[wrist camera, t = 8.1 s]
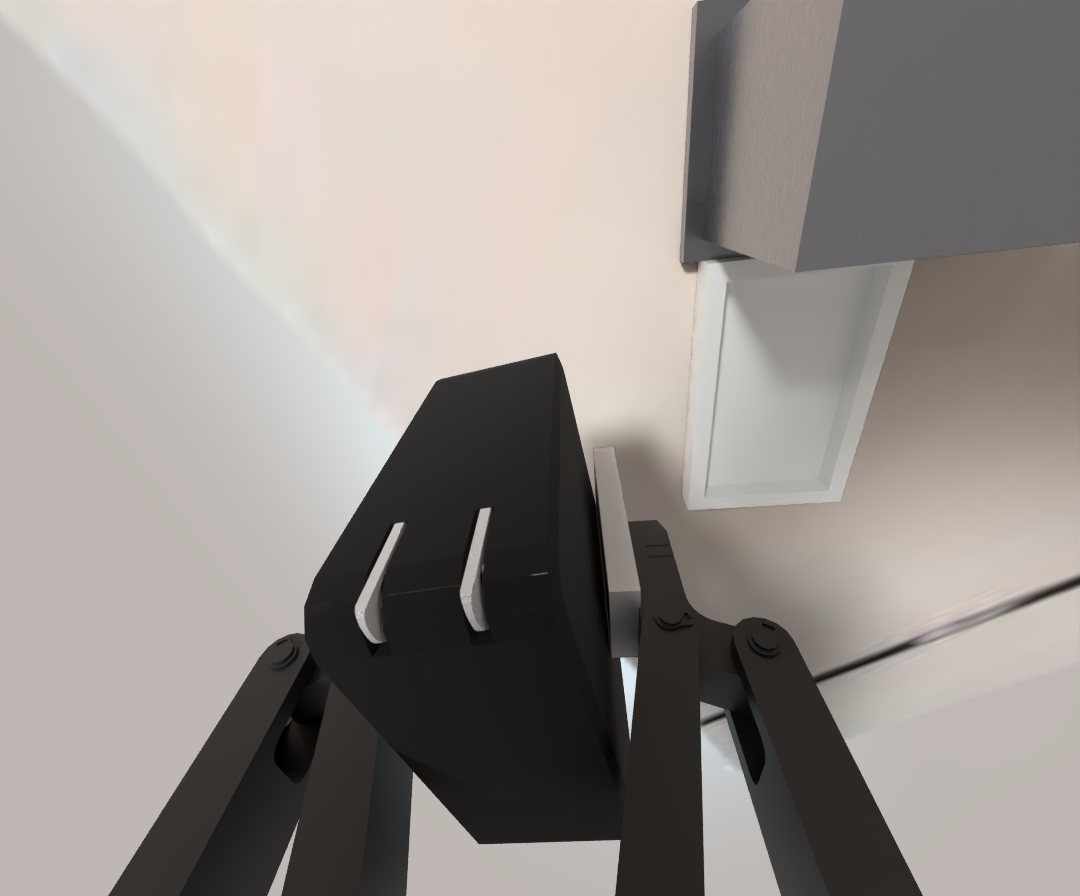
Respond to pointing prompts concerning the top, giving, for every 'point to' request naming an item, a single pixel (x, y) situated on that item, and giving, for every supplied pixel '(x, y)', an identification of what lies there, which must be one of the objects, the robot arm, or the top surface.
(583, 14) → the top surface
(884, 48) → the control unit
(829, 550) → the top surface
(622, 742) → the electronic device
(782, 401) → the tray
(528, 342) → the top surface
